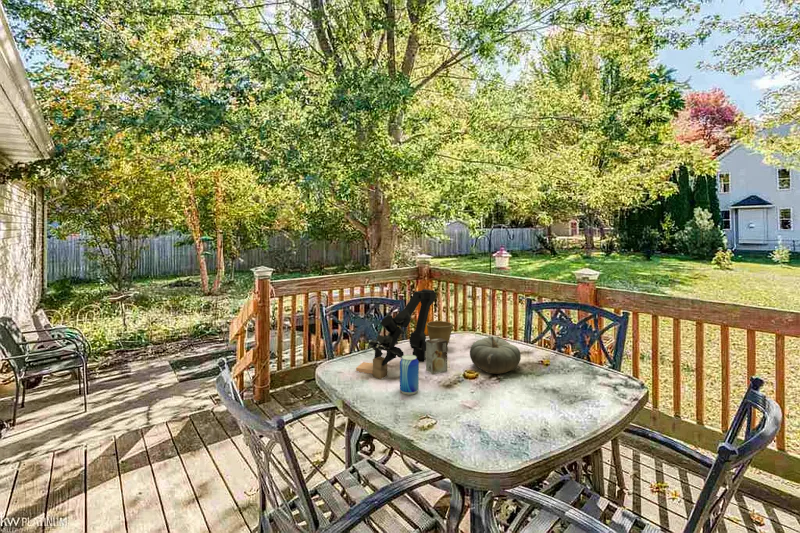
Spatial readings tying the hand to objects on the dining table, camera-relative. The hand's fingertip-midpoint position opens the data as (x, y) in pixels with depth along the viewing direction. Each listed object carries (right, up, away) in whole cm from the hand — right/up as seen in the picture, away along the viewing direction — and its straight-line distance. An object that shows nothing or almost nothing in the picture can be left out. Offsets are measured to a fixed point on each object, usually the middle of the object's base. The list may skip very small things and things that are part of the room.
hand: (378, 364), depth 202 cm
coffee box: (+29, -6, +10) cm, 31 cm away
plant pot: (+34, -2, +43) cm, 55 cm away
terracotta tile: (-6, -6, +11) cm, 14 cm away
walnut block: (+1, -6, +2) cm, 7 cm away
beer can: (+15, -9, -16) cm, 23 cm away
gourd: (+60, -6, +13) cm, 61 cm away
